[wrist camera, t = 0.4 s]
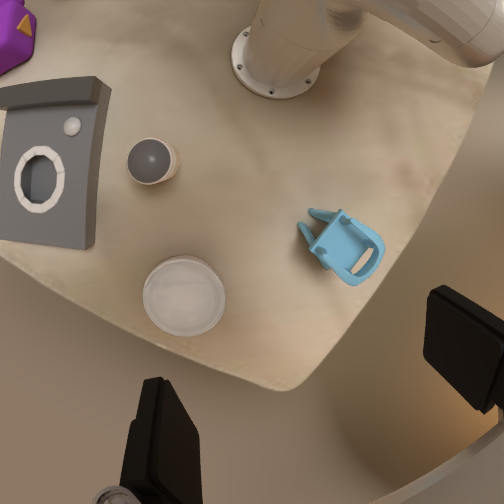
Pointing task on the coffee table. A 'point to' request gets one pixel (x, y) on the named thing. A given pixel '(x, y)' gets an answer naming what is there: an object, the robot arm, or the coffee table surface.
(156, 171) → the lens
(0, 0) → the toy camera
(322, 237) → the chair
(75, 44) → the coffee table surface
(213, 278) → the ramekin
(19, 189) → the camera body
